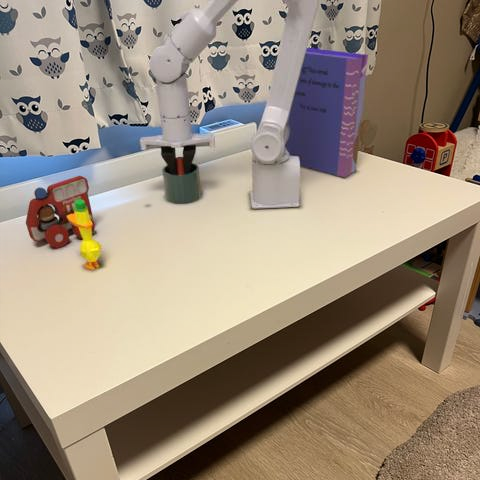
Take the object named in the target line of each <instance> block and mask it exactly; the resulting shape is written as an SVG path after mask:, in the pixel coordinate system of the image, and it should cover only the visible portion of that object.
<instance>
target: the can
mask: <svg viewBox="0 0 480 480" xmlns="http://www.w3.org/2000/svg"><path fill="white" fill-rule="evenodd" d="M162 180H163V186H164V194H165V195H164V196H165V199H166V200H167V201H168V202H169V203H173V204H181V205H182V204H190V203H194V202H196V201H198V200H199V199H200V198H201V197H202V186H201V174H200V166H199V165H198V164H197V163H195V162H192V165H191V168H190V173H189V174H183V175H172V173H171V171H170V169H169V167H168V165H167V164H166V165H165V166H163V168H162Z"/></svg>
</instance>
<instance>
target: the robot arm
mask: <svg viewBox="0 0 480 480" xmlns="http://www.w3.org/2000/svg"><path fill="white" fill-rule="evenodd" d="M238 1H239V0H209V1H207V3H206V4H205V5H204V7H202V8H197V7H194V8H191V9H190V10H189V11H188V10H185V11H184V12H182V13H181V15H180V16H179V18H180V20H181V21H180V22H179V23H178V25H177V26H176V27H175V28H174V29H173V30H172V32H171V33H170V34H169V33H167V34H165V36H164V37H163V41H164V44H162V45H160V46H158V47H156V48H154V49H153V51H152V54H151V55H150V58H149V69H150V71H151V72H150V73H151V74H152V75H153V77H154V78H155V82H156V93H157V101H158V110H159V117H160V126H161V133H162V134H158V135H151V136H143V137H142V136H141V137H140V139H139V144H140V150H141V151H147V150H153V149H160V155H161V158H162V159H163V161H164V162H165V164H166V166H167V165H168V167H169V169H170V171H171V173H172V175H177V165H176V158H177V155H176V154H177V153H176V148H183V149H182V157H183V159H184V167H185V174H189V173H190V168H191V165H192V163H193V162H194V159H195V156H196V152H197V148H201V147H209V148H215V147H216V138H215V136H216V135H215V134H214V133H213V134H210V133H209V134H208V133H207V134H205V133H194V132H192V120H191V110H190V99H189V89H188V79H187V71H188V70H189V68H190V64H192V63H193V62H194V61H195V60H196V59H197V58H198V57H199V56H200V55H201V53H202V52H203V51H204V50H205V49H206V47H208V45H209V44H211V42H212V41H213V40H214V39H215V38H216V37H217V24H218V22H219V21H220V20H221V19H222V18H223V17H224V16H225V15H226V14H227V13H228V12H229V10H230V9H231V8H232V7H233V6H234V5H235V4H236V3H237V2H238ZM283 1H284V3H285V5H286V6H287V15H286V18H285V23H284V27H283V32H282V36H281V40H280V44H279V48H278V53H277V56H276V61H275V65H274V69H273V74H272V78H271V82H270V85H269V86H270V87H269V90H268V95H267V100H266V102H265V103H266V104H265V106H264V111H263V113H262V117H261V120H260V123H259V124H258V127H257V130H256V132H255V133H254V135H253V136H252V137H251V139H250V144H249V146H250V151H251V171H252V172H251V173H252V190H250V191H249V195H250V196H249V197H250V204H251V209H254V210H257V209H259V210H260V209H278V208H280V209H281V208H282V209H283V208H299V207H300V194H301V167H300V161H299V157H298V156H290V155H289V152H288V151H287V149H286V147H285V144H286V142H287V140H288V138H289V134H290V130H289V125H288V120H289V116H290V111H291V106H292V102H293V98H294V95H295V91H296V87H297V83H298V80H299V76H300V72H301V68H302V65H303V61H304V57H305V53H306V50H307V48H308V46H309V42H310V39H311V34H312V31H313V27H314V23H315V20H316V16H317V12H318V8H319V5H320V0H283Z"/></svg>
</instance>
